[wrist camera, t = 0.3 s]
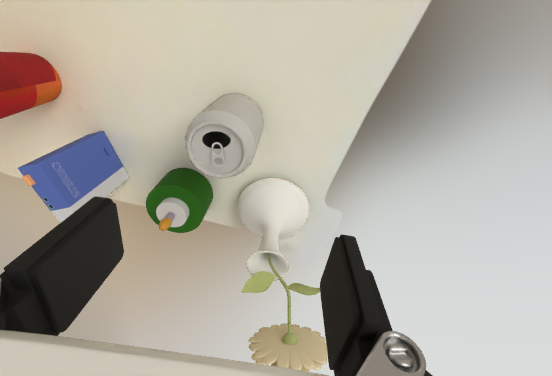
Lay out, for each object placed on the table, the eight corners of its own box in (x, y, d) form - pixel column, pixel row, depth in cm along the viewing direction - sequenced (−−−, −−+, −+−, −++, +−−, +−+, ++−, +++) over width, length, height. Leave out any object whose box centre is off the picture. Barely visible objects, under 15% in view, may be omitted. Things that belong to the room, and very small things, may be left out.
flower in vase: (230, 218, 46) (176, 383, 24) (252, 162, 40) (207, 308, 19) (300, 242, 48) (308, 415, 26) (330, 191, 42) (372, 355, 20)
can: (261, 90, 35) (249, 112, 25) (266, 144, 39) (256, 183, 28) (206, 93, 36) (171, 116, 25) (215, 146, 39) (188, 185, 29)
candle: (152, 175, 42) (116, 211, 34) (199, 161, 41) (173, 195, 32) (177, 217, 46) (150, 258, 37) (221, 205, 44) (203, 246, 36)
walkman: (87, 134, 40) (14, 169, 29) (103, 130, 39) (35, 164, 29) (115, 180, 43) (58, 226, 33) (130, 177, 43) (77, 222, 32)
